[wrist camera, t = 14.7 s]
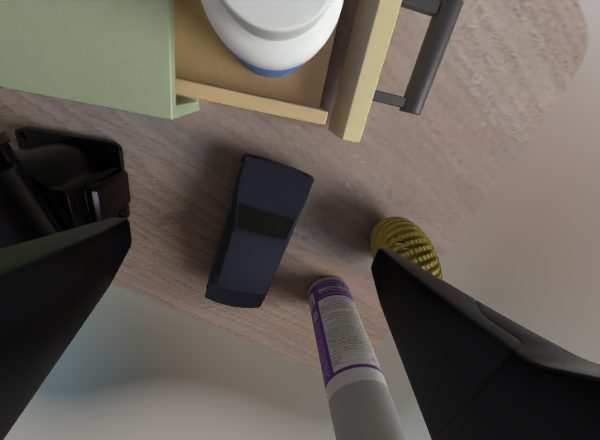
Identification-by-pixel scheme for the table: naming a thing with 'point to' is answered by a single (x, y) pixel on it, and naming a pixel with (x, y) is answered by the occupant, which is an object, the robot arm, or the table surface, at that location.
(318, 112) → the drawer
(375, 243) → the sculpture
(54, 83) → the cabinet
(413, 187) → the table surface
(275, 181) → the toy car
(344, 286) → the container
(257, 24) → the pill bottle
